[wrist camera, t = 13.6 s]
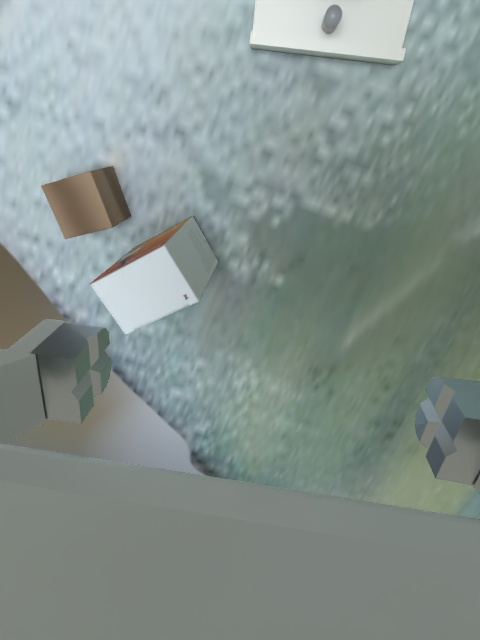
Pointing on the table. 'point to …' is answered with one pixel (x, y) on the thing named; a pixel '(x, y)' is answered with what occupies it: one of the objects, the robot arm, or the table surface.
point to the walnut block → (87, 202)
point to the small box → (157, 277)
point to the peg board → (333, 28)
